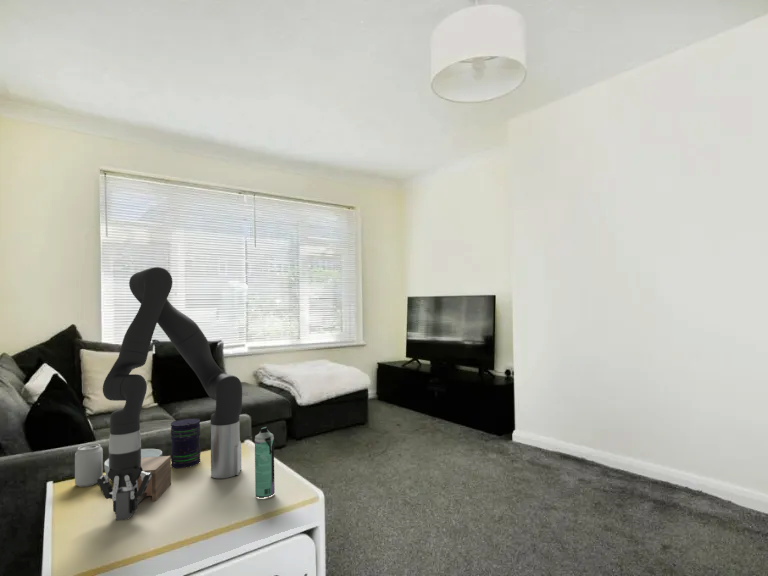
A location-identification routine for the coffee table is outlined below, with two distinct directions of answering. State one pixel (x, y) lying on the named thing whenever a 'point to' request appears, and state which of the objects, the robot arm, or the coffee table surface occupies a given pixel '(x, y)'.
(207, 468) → the coffee table surface
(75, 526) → the coffee table surface
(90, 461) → the can
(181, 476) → the coffee table surface
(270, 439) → the spray can
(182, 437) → the storage jar
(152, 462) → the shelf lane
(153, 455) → the cereal bowl
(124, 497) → the block with cord
